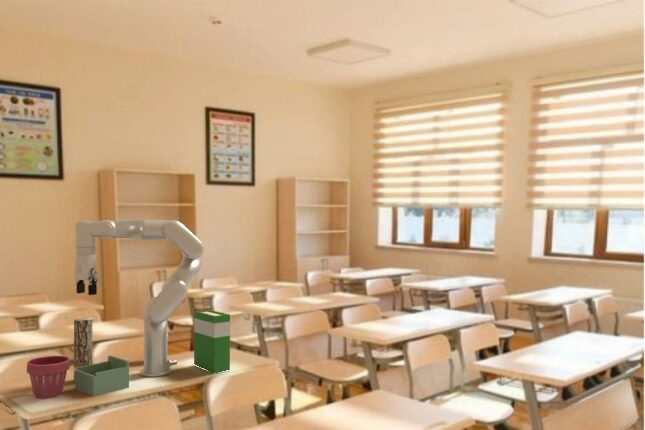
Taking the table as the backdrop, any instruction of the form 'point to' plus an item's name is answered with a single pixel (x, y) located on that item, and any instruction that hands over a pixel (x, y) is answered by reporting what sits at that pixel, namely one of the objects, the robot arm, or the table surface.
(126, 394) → the table surface
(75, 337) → the wooden log
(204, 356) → the green cereal box
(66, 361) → the plant pot
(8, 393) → the table surface
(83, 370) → the open box
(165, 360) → the robot arm
